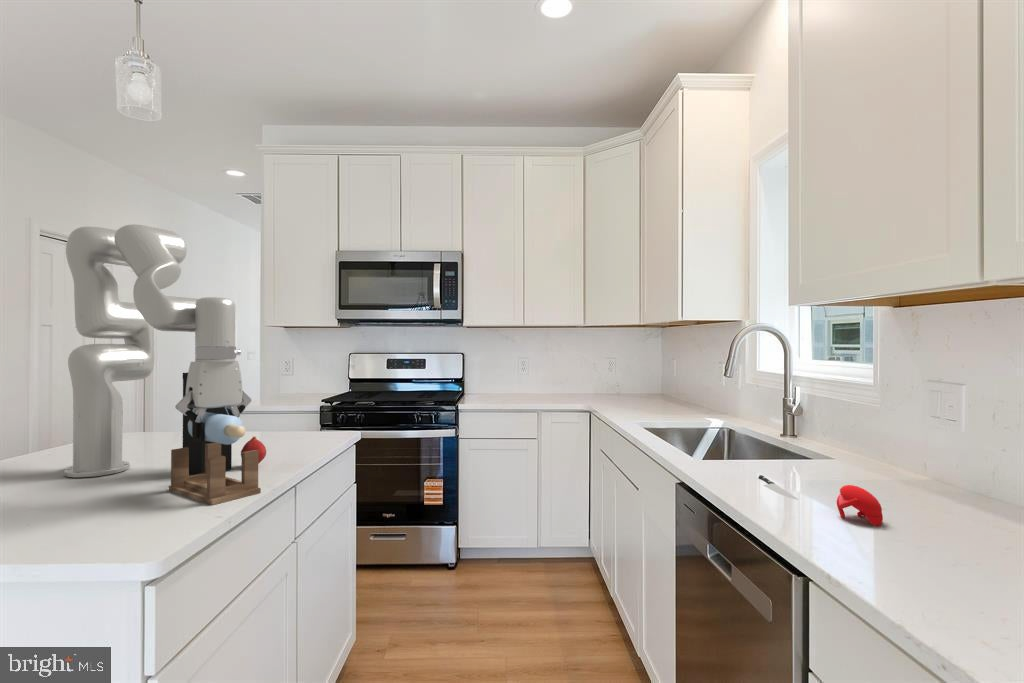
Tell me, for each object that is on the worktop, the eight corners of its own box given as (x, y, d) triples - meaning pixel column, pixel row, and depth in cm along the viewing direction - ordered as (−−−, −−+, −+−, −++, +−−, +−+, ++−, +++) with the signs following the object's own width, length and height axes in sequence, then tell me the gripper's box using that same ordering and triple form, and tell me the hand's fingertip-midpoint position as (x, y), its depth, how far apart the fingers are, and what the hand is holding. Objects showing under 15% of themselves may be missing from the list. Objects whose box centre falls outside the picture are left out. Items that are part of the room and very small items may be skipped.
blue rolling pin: (179, 439, 112) (178, 412, 112) (207, 435, 118) (207, 409, 117) (225, 449, 102) (224, 419, 102) (254, 443, 107) (253, 415, 107)
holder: (168, 490, 111) (169, 449, 111) (216, 480, 119) (216, 441, 119) (212, 505, 101) (212, 459, 101) (260, 492, 109) (260, 451, 109)
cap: (823, 497, 98) (845, 488, 93) (842, 484, 100) (865, 475, 95) (853, 536, 95) (878, 529, 90) (872, 521, 97) (898, 514, 92)
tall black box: (181, 473, 125) (182, 359, 125) (213, 466, 132) (213, 358, 132) (200, 477, 122) (201, 360, 122) (232, 469, 129) (232, 359, 129)
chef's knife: (788, 504, 105) (803, 504, 105) (788, 499, 105) (802, 498, 105) (749, 479, 125) (762, 478, 124) (749, 474, 125) (762, 473, 124)
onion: (235, 469, 129) (235, 437, 129) (250, 463, 135) (251, 433, 135) (256, 470, 128) (256, 438, 128) (270, 464, 134) (271, 434, 134)
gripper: (244, 354, 119) (244, 431, 119) (162, 355, 105) (162, 443, 105) (263, 354, 115) (263, 433, 115) (180, 355, 101) (180, 447, 101)
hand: (215, 437), depth 110 cm, fingers closed on blue rolling pin, 6 cm apart
